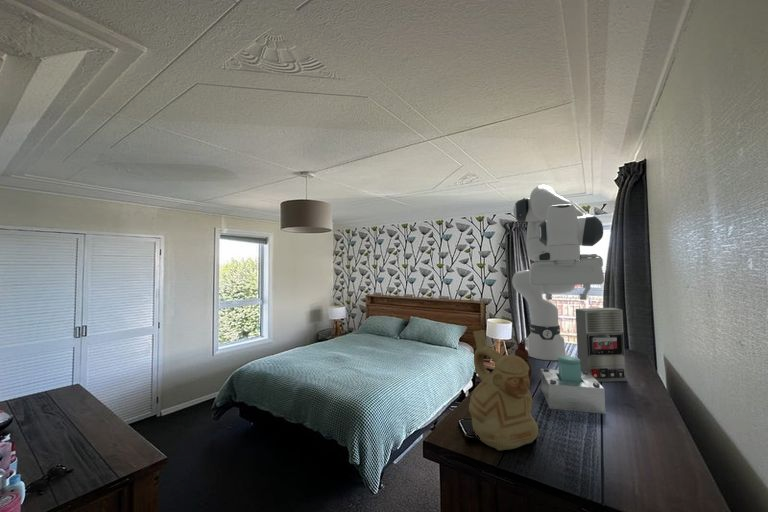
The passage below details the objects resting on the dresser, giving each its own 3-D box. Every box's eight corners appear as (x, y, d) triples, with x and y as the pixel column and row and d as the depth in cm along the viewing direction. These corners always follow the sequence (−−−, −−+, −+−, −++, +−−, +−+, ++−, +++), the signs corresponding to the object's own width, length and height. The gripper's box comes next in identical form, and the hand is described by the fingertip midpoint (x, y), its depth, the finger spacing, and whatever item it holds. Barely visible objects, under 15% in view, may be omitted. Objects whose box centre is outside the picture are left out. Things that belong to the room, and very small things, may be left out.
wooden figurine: (533, 383, 111) (531, 340, 111) (516, 383, 112) (514, 340, 112) (528, 377, 117) (527, 336, 118) (512, 376, 118) (510, 336, 119)
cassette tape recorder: (588, 383, 110) (585, 311, 110) (578, 377, 116) (574, 308, 117) (628, 382, 110) (624, 309, 111) (615, 375, 116) (612, 307, 117)
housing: (541, 389, 105) (540, 366, 106) (589, 393, 101) (588, 370, 101) (549, 408, 92) (548, 382, 92) (605, 414, 88) (604, 386, 88)
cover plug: (557, 395, 100) (555, 355, 101) (579, 397, 99) (577, 356, 99) (561, 404, 95) (560, 361, 95) (584, 406, 93) (582, 362, 93)
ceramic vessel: (496, 467, 67) (492, 348, 67) (451, 423, 85) (448, 330, 86) (561, 451, 71) (556, 340, 72) (505, 413, 90) (501, 325, 91)
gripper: (598, 254, 98) (601, 298, 98) (527, 256, 105) (529, 298, 104) (606, 253, 92) (608, 300, 92) (529, 255, 99) (531, 300, 98)
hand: (565, 299), depth 98 cm, fingers open, 8 cm apart
